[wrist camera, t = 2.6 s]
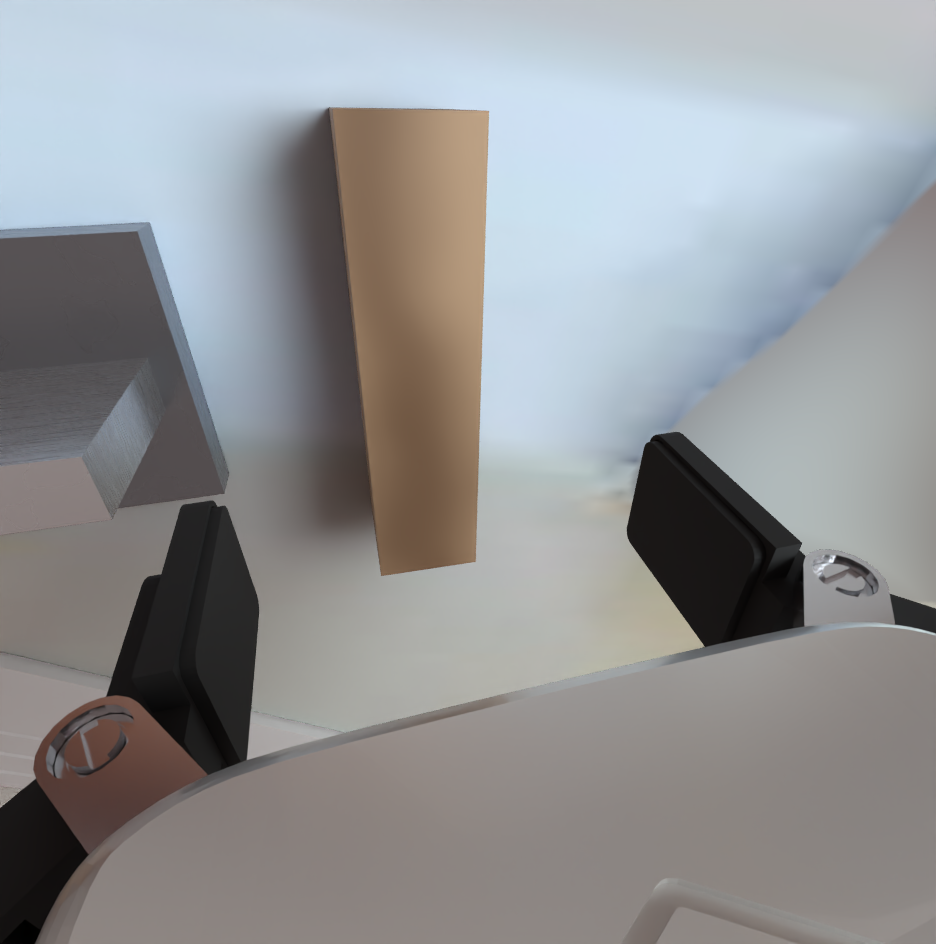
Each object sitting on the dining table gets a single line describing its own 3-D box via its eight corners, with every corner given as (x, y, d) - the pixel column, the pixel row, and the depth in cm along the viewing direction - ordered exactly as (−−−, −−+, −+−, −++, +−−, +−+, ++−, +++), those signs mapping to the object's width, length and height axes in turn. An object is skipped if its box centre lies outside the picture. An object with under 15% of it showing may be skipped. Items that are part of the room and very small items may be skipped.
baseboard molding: (383, 833, 46) (474, 753, 42) (387, 872, 43) (483, 792, 40) (-76, 773, 30) (6, 638, 26) (-109, 829, 28) (-24, 690, 24)
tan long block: (450, 109, 18) (489, 110, 14) (452, 493, 27) (475, 561, 23) (328, 107, 17) (332, 108, 13) (371, 503, 26) (381, 575, 22)
